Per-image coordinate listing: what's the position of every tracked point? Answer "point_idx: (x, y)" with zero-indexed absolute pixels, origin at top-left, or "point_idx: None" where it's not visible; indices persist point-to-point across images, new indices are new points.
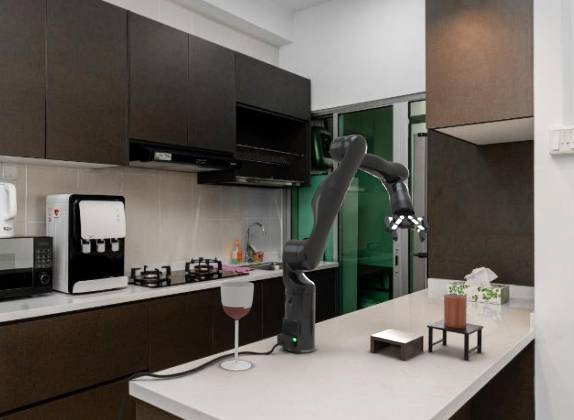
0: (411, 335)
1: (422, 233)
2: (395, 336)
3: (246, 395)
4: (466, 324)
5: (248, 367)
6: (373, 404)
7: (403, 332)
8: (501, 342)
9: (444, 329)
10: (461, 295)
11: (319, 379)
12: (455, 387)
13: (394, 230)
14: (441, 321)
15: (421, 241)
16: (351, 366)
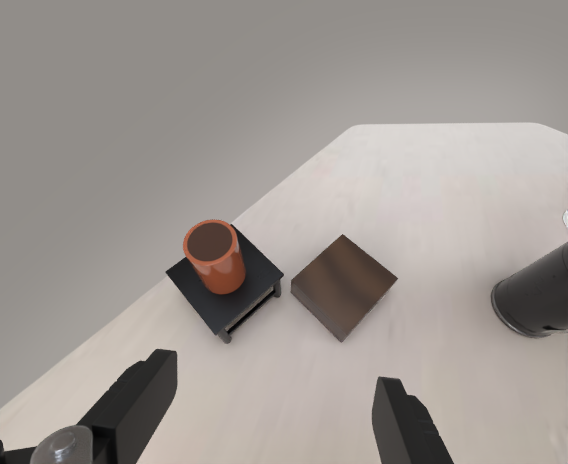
0: (315, 280)
1: (130, 386)
2: (349, 272)
3: (526, 150)
4: (191, 284)
5: (565, 217)
6: (400, 137)
7: (325, 302)
8: (83, 367)
9: (259, 251)
10: (190, 245)
11: (459, 185)
12: (306, 169)
13: (435, 460)
14: (232, 311)
15: (176, 377)
16: (421, 225)
